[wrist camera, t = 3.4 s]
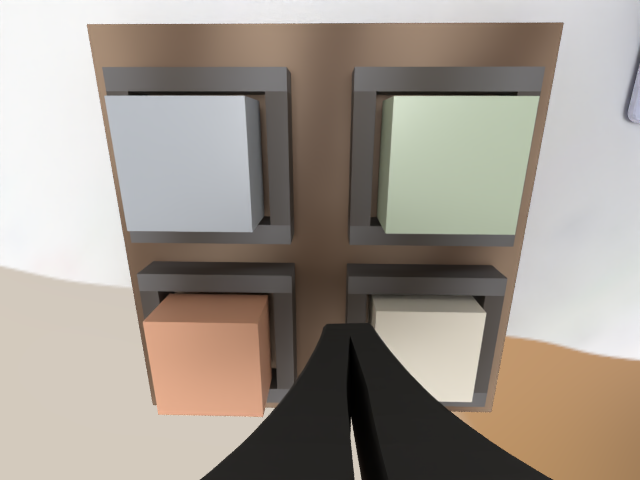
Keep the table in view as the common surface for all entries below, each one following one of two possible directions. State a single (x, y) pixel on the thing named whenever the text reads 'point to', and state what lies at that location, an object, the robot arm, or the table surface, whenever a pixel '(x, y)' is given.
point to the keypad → (327, 170)
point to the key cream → (433, 339)
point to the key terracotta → (210, 354)
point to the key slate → (188, 162)
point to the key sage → (454, 163)
